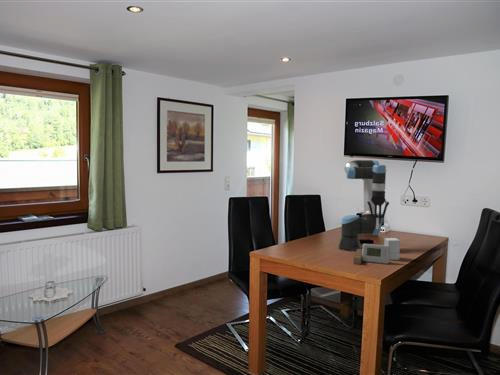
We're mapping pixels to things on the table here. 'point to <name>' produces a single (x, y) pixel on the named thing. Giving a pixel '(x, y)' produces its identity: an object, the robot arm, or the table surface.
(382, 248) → the digital clock
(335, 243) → the table surface
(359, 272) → the table surface
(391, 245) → the supplement box
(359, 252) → the walnut batten
